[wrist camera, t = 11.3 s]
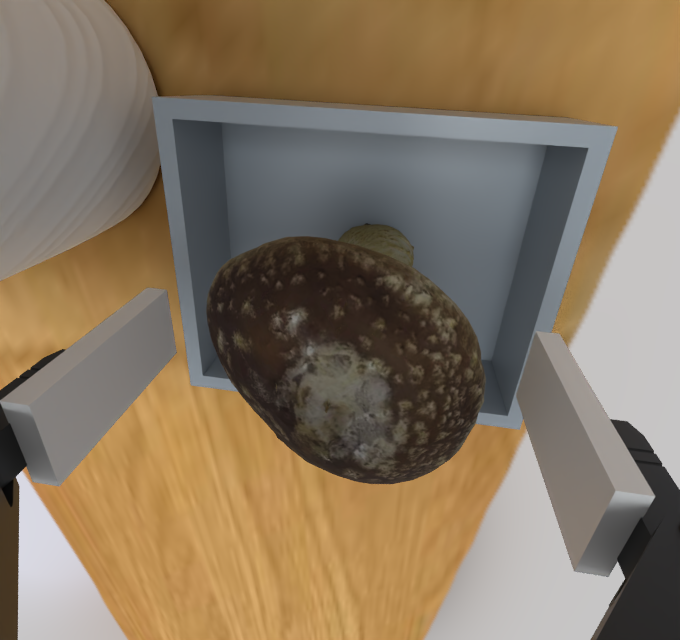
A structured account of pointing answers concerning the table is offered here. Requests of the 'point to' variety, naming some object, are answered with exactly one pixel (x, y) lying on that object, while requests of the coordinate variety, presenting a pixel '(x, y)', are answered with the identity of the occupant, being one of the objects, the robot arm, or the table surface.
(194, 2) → the table surface
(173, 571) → the table surface
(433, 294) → the mushroom
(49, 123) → the vase
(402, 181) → the bin
